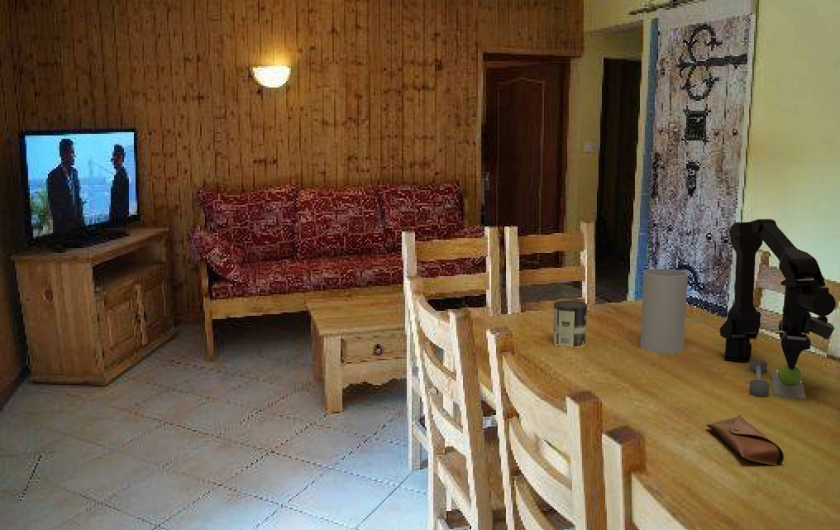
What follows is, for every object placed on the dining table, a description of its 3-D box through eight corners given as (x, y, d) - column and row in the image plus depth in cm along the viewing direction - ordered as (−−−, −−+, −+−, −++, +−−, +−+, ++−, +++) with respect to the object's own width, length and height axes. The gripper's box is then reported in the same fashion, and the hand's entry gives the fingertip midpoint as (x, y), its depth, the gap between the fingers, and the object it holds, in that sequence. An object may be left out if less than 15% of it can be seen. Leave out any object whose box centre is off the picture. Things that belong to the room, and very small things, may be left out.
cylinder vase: (676, 346, 220) (681, 268, 215) (687, 359, 207) (693, 276, 203) (636, 346, 221) (640, 268, 216) (644, 358, 209) (648, 276, 204)
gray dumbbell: (748, 399, 175) (750, 384, 175) (748, 372, 195) (749, 358, 195) (768, 402, 173) (769, 386, 173) (766, 374, 193) (767, 360, 193)
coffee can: (582, 342, 225) (583, 300, 222) (589, 352, 215) (590, 307, 212) (550, 342, 225) (551, 300, 223) (555, 352, 215) (556, 307, 212)
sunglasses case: (702, 422, 157) (723, 400, 156) (724, 441, 158) (745, 419, 157) (743, 458, 139) (766, 434, 138) (767, 479, 140) (790, 455, 139)
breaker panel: (773, 399, 175) (774, 388, 174) (771, 377, 191) (772, 367, 190) (805, 403, 172) (806, 392, 171) (800, 380, 188) (801, 370, 188)
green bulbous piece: (798, 380, 181) (802, 337, 178) (802, 391, 175) (807, 346, 172) (774, 378, 183) (779, 335, 179) (778, 388, 177) (783, 345, 174)
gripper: (838, 318, 163) (831, 382, 165) (829, 301, 179) (823, 359, 182) (784, 313, 167) (778, 375, 170) (780, 297, 184) (775, 354, 187)
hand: (790, 366), depth 177 cm, fingers closed on green bulbous piece, 5 cm apart
